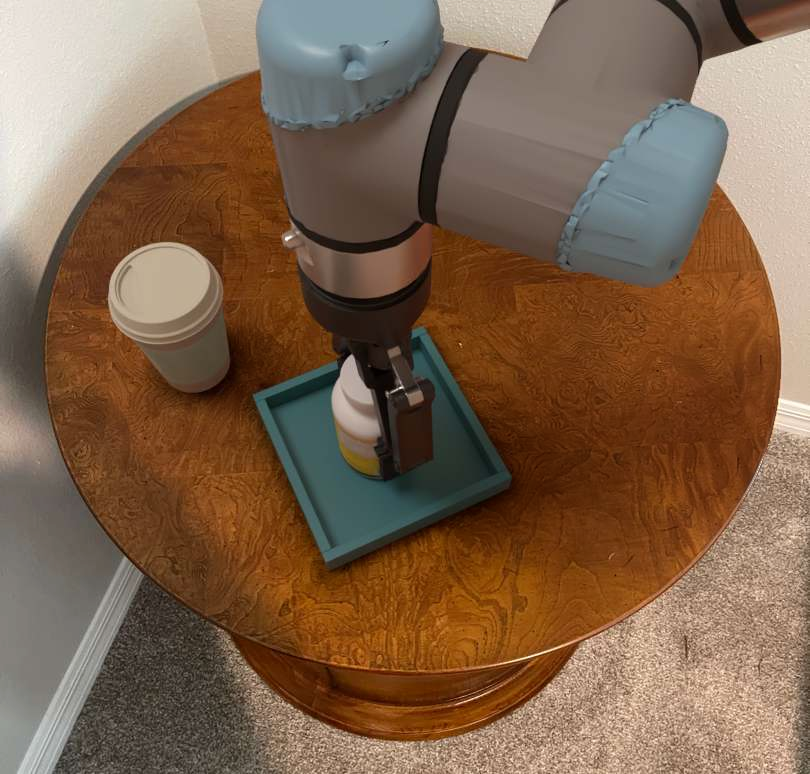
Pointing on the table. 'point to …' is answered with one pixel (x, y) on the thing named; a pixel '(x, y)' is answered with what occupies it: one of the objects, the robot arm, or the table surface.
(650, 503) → the table surface
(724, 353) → the table surface
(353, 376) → the pill bottle
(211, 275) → the coffee cup
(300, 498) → the tray
